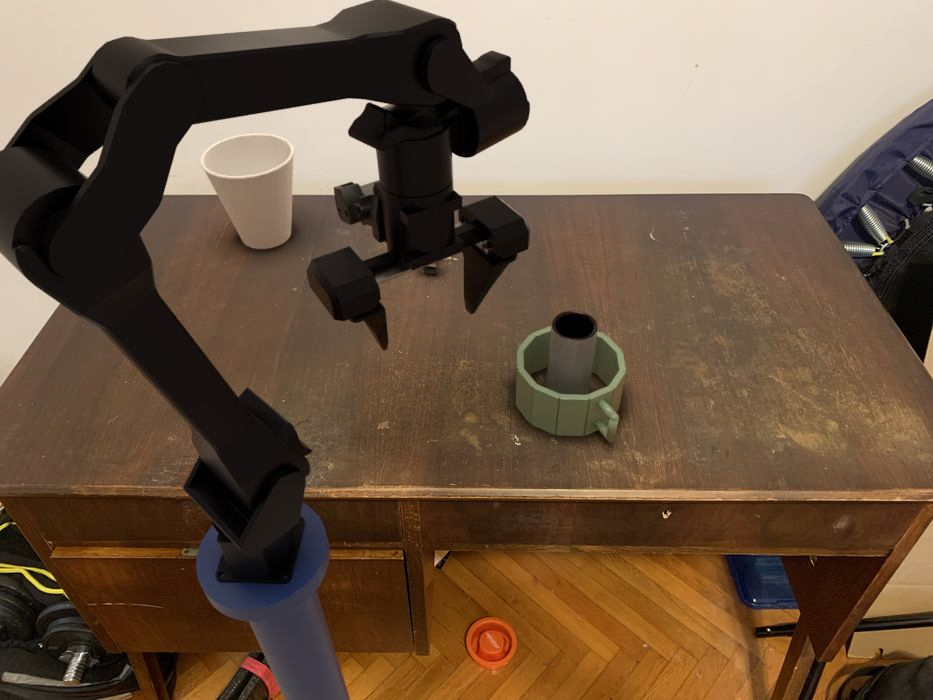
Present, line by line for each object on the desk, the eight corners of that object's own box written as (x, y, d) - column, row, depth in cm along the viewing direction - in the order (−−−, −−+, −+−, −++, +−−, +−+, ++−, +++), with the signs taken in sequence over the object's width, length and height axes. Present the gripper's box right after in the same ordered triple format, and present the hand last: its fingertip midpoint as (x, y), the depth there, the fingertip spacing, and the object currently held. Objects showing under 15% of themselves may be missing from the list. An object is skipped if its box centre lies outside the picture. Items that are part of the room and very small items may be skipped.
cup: (209, 230, 102) (185, 150, 94) (285, 203, 107) (269, 124, 99) (244, 270, 95) (221, 187, 87) (324, 239, 100) (310, 157, 92)
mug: (496, 382, 80) (497, 345, 76) (580, 349, 83) (584, 313, 80) (565, 469, 71) (570, 433, 67) (655, 429, 74) (664, 392, 71)
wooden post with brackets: (451, 232, 100) (447, 213, 95) (440, 282, 97) (435, 266, 92) (439, 230, 100) (434, 212, 96) (427, 281, 97) (421, 264, 93)
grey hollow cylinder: (582, 380, 80) (591, 307, 73) (592, 410, 76) (603, 337, 69) (541, 383, 79) (547, 311, 72) (550, 414, 76) (556, 342, 69)
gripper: (464, 110, 65) (467, 253, 75) (265, 168, 58) (299, 317, 68) (537, 161, 58) (529, 311, 68) (320, 235, 51) (349, 389, 61)
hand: (427, 329), depth 67 cm, fingers open, 9 cm apart
